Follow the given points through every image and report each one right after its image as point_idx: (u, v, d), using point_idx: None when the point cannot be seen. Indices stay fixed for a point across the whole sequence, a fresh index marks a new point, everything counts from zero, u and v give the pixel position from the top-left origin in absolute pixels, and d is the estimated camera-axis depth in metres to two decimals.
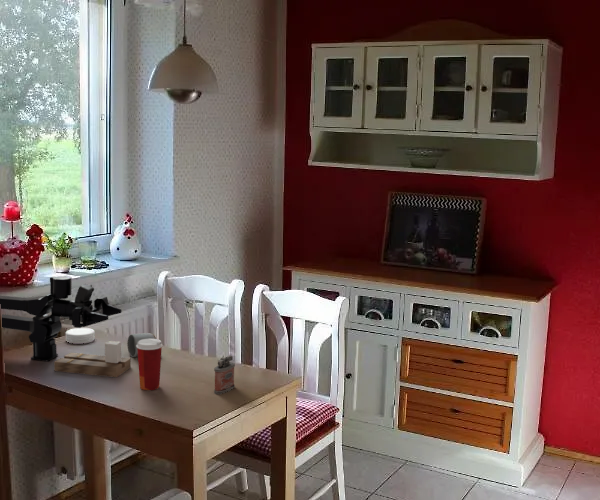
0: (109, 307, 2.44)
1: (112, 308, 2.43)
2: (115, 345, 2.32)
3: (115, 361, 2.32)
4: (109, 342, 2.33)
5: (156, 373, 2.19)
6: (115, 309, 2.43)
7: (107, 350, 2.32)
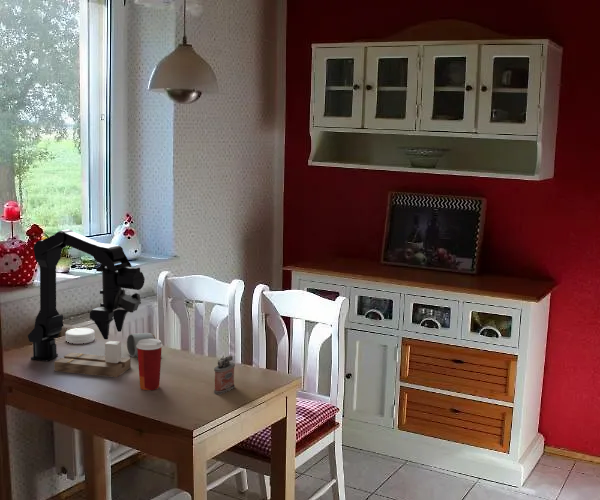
0: (121, 318, 2.37)
1: (120, 322, 2.37)
2: (115, 345, 2.32)
3: (115, 361, 2.32)
4: (109, 342, 2.33)
5: (156, 373, 2.19)
6: (120, 325, 2.37)
7: (107, 350, 2.32)
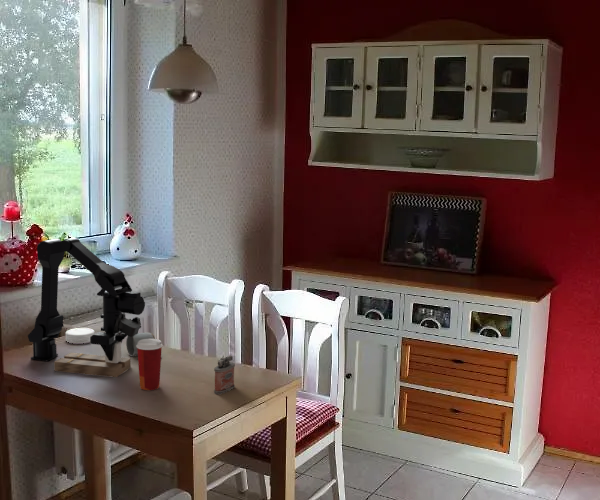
0: None
1: None
2: (115, 345, 2.32)
3: (115, 361, 2.32)
4: None
5: (156, 373, 2.19)
6: None
7: None
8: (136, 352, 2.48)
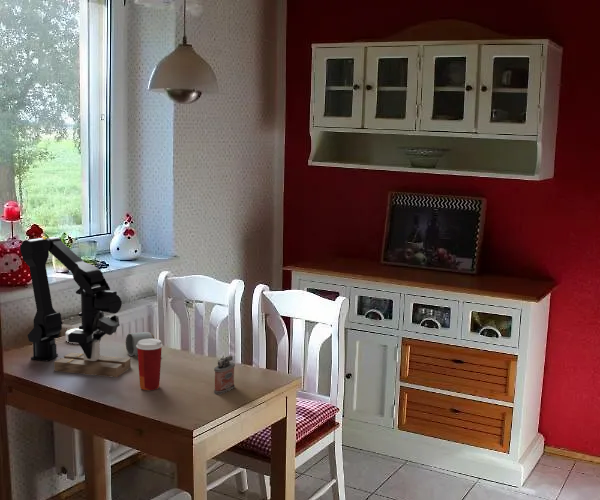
0: None
1: None
2: (93, 343, 2.33)
3: (93, 359, 2.34)
4: None
5: (156, 373, 2.19)
6: None
7: None
8: (135, 352, 2.49)
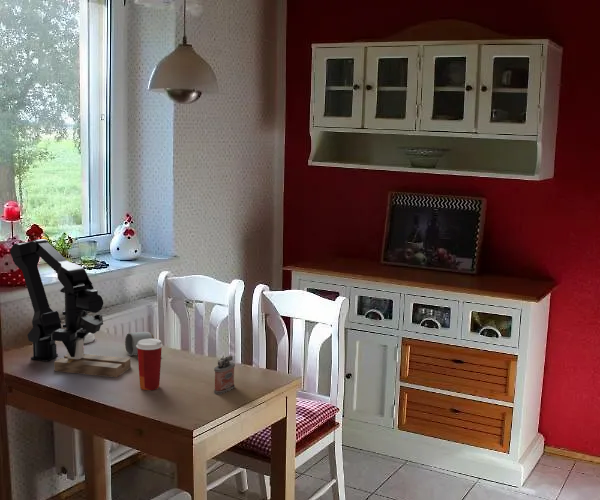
0: None
1: None
2: (77, 341, 2.34)
3: (77, 357, 2.35)
4: None
5: (156, 373, 2.19)
6: None
7: None
8: (135, 351, 2.49)
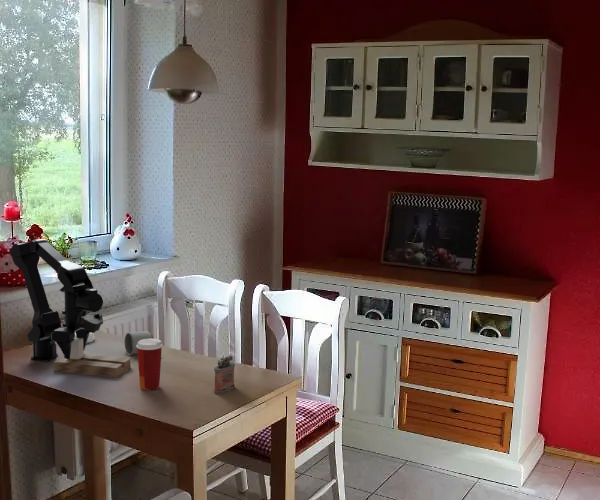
0: (84, 337, 2.41)
1: (83, 341, 2.41)
2: (77, 341, 2.34)
3: (77, 357, 2.35)
4: None
5: (156, 373, 2.19)
6: (83, 344, 2.41)
7: None
8: (134, 351, 2.49)
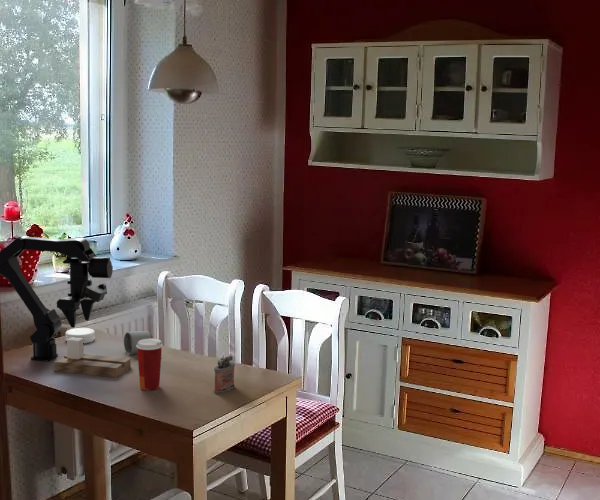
0: (89, 307, 2.48)
1: (88, 311, 2.48)
2: (77, 341, 2.34)
3: (77, 357, 2.35)
4: (71, 338, 2.36)
5: (156, 373, 2.19)
6: (87, 314, 2.48)
7: (69, 346, 2.35)
8: (133, 350, 2.50)
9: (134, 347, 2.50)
